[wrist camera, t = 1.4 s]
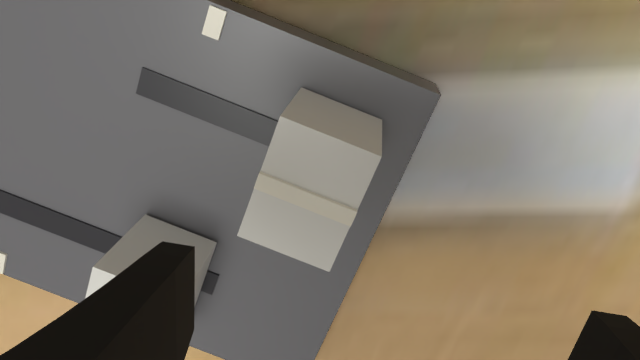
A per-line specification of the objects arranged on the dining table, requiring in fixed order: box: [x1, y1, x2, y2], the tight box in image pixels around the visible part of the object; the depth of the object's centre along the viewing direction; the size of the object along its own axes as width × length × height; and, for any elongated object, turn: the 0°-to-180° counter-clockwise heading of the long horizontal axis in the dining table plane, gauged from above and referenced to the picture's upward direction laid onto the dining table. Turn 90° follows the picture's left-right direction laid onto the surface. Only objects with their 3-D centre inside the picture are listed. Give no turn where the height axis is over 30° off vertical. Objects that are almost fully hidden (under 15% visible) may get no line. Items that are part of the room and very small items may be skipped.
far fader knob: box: [85, 215, 217, 308], centre depth 20 cm, size 3×4×4 cm
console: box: [0, 0, 441, 360], centre depth 21 cm, size 17×14×2 cm
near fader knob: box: [237, 87, 382, 272], centre depth 17 cm, size 3×4×4 cm
